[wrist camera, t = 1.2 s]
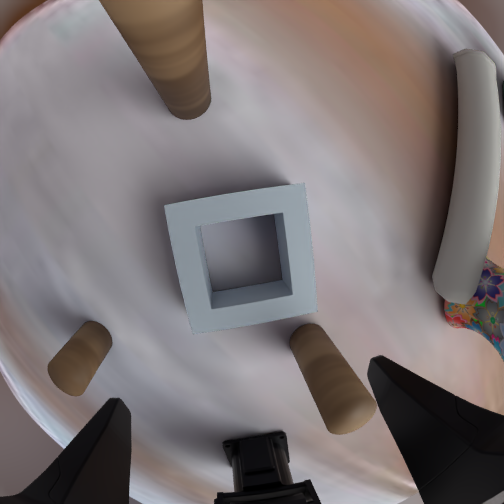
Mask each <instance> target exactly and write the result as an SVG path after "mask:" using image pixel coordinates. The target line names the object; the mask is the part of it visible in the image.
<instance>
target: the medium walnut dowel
mask: <svg viewBox="0 0 504 504" xmlns="http://www.w3.org/2000/svg"><path fill="white" fill-rule="evenodd" d="M290 348H291V350H292V352H293V354H294V357H295V359H296V361H297V363H298V365H299V368H300V370H301V372H302V374H303V377H304V379H305V381H306V383H307V385H308V388H309V390H310V392H311V394H312V396H313V399H314V401H315V403H316V405H317V407H318V410H319V412H320V414H321V416H322V419H323V421H324V423H325V425H326V427H327V429H328V431H329V432H330V433H332V434H337V435H340V434H347V433H350V432H353V431H355V430H357V429H359V428H360V427H362V426H363V425H365V424H366V423H367V422H368V421H369V420H370V419H371V418H372V417H373V415H374V413H375V411H376V408H377V404H376V401H375V400H374V399H373V397H372V396H371V394H370V393H369V392H368V390H367V389H366V387H365V386H364V385H363V383H362V382H361V381H360V379H359V378H358V376H357V375H356V374H355V372H354V371H353V369H352V368H351V367H350V365H349V364H348V363H347V361H346V360H345V358H344V357H343V356H342V354H341V353H340V352H339V350H338V349H337V347H336V346H335V345H334V343H333V342H332V341H331V339H330V338H329V337H328V335H327V334H326V332H325V331H324V330H323V328H322V327H320V326H319V325H316V324H306V325H303V326H301V327H299V328H298V329H296V330H295V331H294V333H293V334H292V336H291V338H290Z"/></svg>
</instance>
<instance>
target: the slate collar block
mask: <svg viewBox="0 0 504 504" xmlns="http://www.w3.org/2000/svg"><path fill="white" fill-rule="evenodd" d="M164 208H165V214H166V219H167V225H168V230H169V235H170V241H171V246H172V250H173V255H174V260H175V265H176V269H177V274H178V278H179V282H180V287H181V291H182V295H183V299H184V303H185V307H186V311H187V315H188V319H189V322H190V326H191V330H192V333H193V334H199V333H206V332H213V331H219V330H225V329H232V328H238V327H243V326H249V325H255V324H260V323H265V322H271V321H276V320H281V319H286V318H290V317H295V316H300V315H304V314H309V313H313V312H318V310H317V295H316V281H315V269H314V258H313V247H312V238H311V228H310V220H309V211H308V203H307V195H306V188H305V183H301V184H292V185H284V186H277V187H269V188H262V189H255V190H248V191H241V192H235V193H229V194H223V195H217V196H211V197H205V198H199V199H194V200H189V201H183V202H178V203H173V204H168V205H164ZM269 214H274V218H275V226H276V233H277V240H278V248H279V256H280V264H281V272H282V280H279V281H274V282H268V283H263V284H257V285H251V286H246V287H240V288H234V289H228V290H222V291H216V292H212V287H211V282H210V277H209V272H208V267H207V262H206V257H205V251H204V246H203V241H202V235H201V230H200V226H202V225H208V224H214V223H220V222H226V221H232V220H238V219H244V218H250V217H256V216H263V215H269Z"/></svg>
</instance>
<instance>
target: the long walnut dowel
mask: <svg viewBox="0 0 504 504" xmlns="http://www.w3.org/2000/svg"><path fill="white" fill-rule="evenodd" d="M99 1H100V3H101V4H102V6H103V7H104V9H105V10H106V12H107V13H108V15H109V16H110V18H111V20H112V21H113V23H114V24H115V26H116V27H117V29H118V30H119V32H120V34H121V35H122V37H123V38H124V40H125V41H126V43H127V44H128V46H129V48H130V49H131V51H132V52H133V54H134V55H135V57H136V58H137V60H138V62H139V63H140V65H141V66H142V68H143V69H144V71H145V73H146V74H147V76H148V77H149V79H150V80H151V82H152V84H153V85H154V87H155V88H156V90H157V91H158V93H159V95H160V96H161V98H162V99H163V101H164V102H165V104H166V106H167V107H168V109H169V110H170V112H171V113H172V114H173V115H174V116H175V117H177V118H180V119H185V120H189V119H194V118H197V117H199V116H201V115H202V114H203V113H205V112H206V110H207V109H208V107H209V105H210V102H211V92H210V82H209V72H208V62H207V51H206V40H205V28H204V16H203V3H202V0H99Z"/></svg>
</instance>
